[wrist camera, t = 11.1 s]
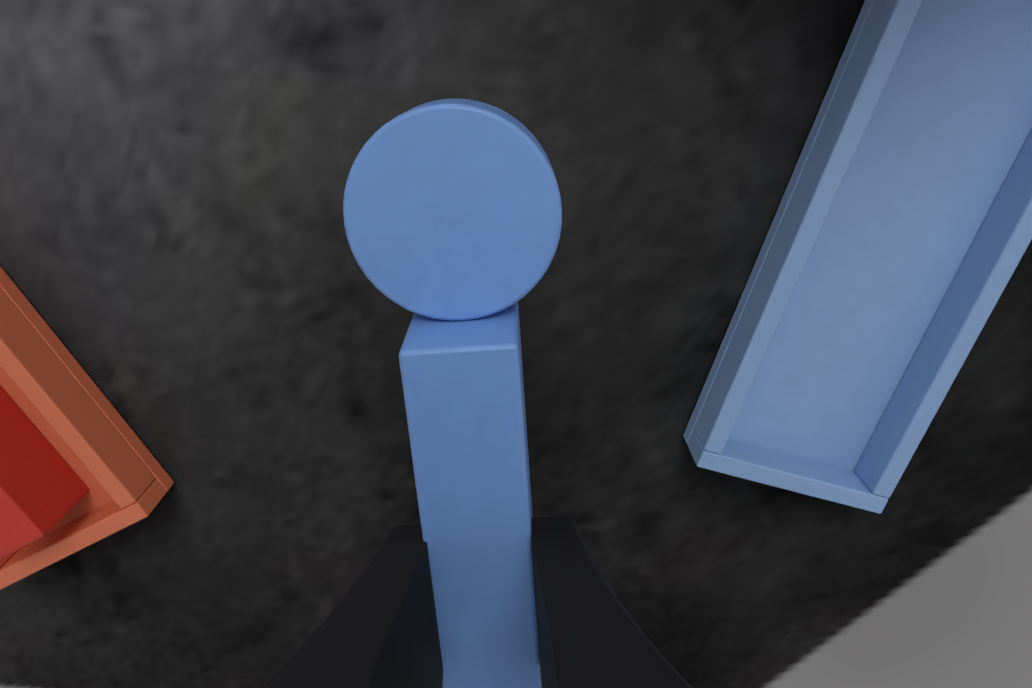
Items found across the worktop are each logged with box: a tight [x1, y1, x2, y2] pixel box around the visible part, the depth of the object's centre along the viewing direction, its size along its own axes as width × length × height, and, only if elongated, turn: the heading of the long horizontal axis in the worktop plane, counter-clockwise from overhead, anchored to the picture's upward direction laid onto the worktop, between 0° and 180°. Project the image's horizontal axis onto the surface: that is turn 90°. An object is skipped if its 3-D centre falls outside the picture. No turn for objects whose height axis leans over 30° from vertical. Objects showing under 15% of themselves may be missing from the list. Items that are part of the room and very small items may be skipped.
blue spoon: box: [343, 99, 562, 688], centre depth 11 cm, size 9×3×2 cm, turn 4°
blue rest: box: [683, 0, 1032, 514], centre depth 18 cm, size 14×5×2 cm, turn 164°
